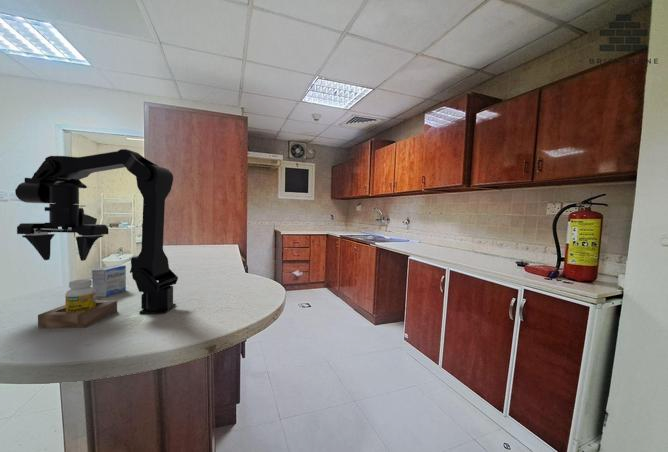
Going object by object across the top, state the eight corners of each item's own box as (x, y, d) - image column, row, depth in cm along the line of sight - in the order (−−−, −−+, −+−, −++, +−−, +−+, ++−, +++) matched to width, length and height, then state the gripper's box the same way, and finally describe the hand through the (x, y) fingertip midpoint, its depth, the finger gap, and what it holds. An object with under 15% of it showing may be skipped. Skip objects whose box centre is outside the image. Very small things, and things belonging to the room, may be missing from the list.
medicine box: (105, 297, 81) (105, 270, 81) (91, 297, 81) (91, 269, 81) (126, 290, 89) (126, 265, 88) (113, 289, 89) (113, 264, 88)
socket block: (117, 311, 70) (117, 300, 70) (85, 327, 60) (85, 314, 60) (76, 311, 69) (76, 300, 69) (38, 327, 59) (37, 314, 59)
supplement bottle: (97, 313, 69) (97, 277, 68) (93, 320, 64) (93, 282, 64) (69, 317, 66) (68, 279, 65) (62, 325, 61) (62, 284, 61)
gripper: (121, 206, 80) (122, 256, 81) (55, 203, 78) (56, 255, 79) (92, 204, 69) (92, 262, 70) (14, 202, 67) (15, 261, 68)
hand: (65, 260), depth 72 cm, fingers open, 9 cm apart
